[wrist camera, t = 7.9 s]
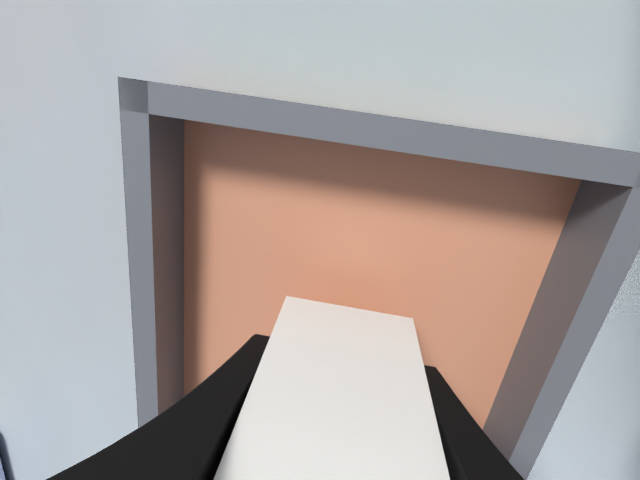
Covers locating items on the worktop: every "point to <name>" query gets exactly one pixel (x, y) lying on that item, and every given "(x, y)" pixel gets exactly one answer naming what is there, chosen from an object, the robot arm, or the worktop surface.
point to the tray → (371, 243)
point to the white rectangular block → (337, 401)
